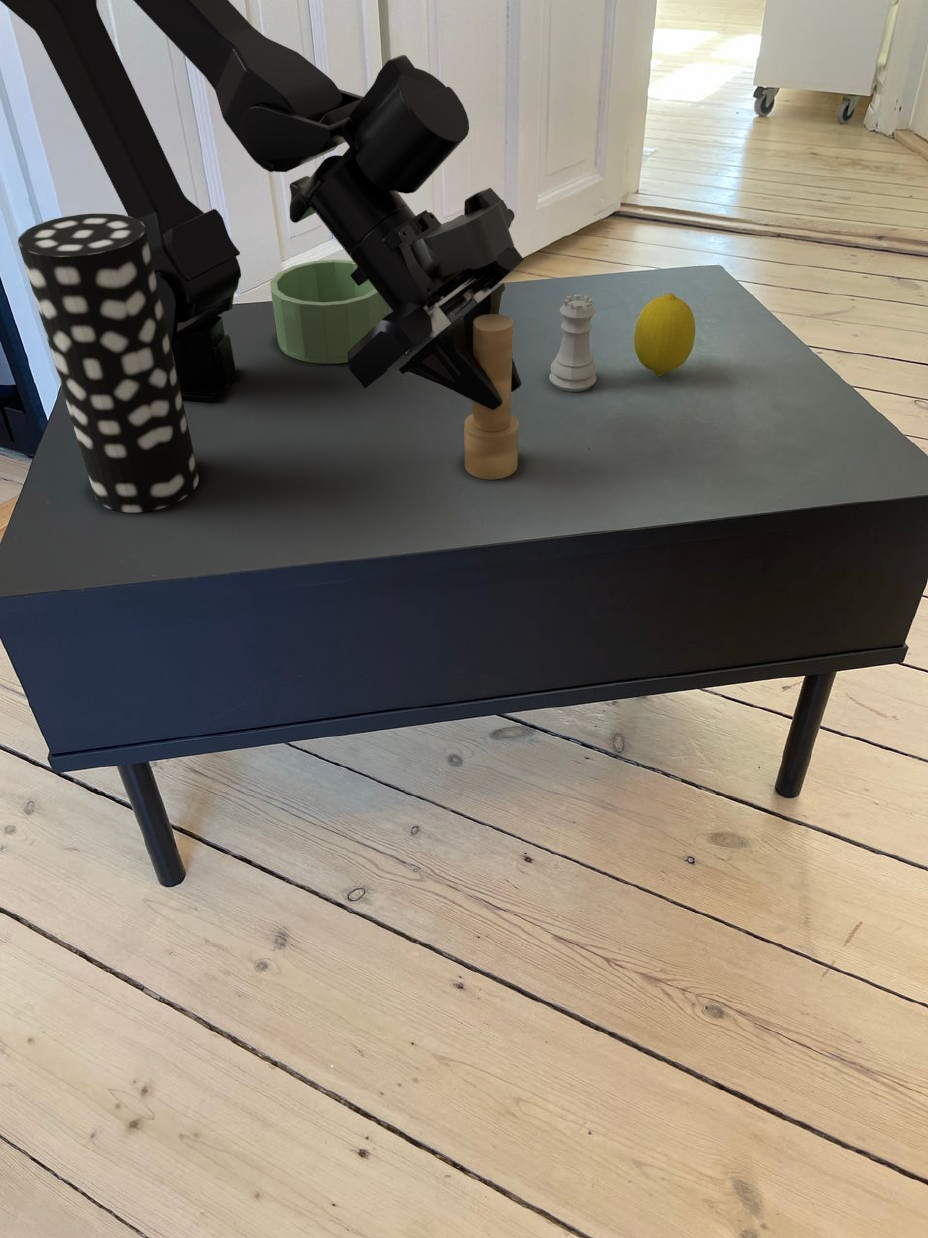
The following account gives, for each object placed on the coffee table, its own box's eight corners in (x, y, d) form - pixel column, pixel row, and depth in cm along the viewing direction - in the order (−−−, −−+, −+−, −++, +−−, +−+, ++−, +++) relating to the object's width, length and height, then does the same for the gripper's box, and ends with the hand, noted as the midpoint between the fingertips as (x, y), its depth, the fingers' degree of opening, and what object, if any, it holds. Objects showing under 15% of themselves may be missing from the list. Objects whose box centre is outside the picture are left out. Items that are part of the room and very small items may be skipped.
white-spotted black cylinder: (111, 456, 82) (44, 212, 69) (209, 457, 82) (159, 213, 69) (79, 512, 76) (-3, 256, 63) (184, 513, 76) (125, 256, 63)
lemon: (623, 382, 92) (632, 300, 87) (638, 358, 96) (647, 278, 90) (681, 393, 90) (694, 309, 85) (693, 367, 94) (706, 286, 89)
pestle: (459, 476, 80) (458, 331, 71) (470, 449, 83) (469, 307, 75) (512, 482, 79) (517, 336, 71) (521, 454, 82) (526, 311, 74)
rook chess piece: (593, 395, 90) (601, 312, 85) (545, 391, 91) (550, 308, 85) (598, 373, 93) (605, 292, 88) (552, 369, 94) (556, 288, 89)
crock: (262, 358, 96) (253, 299, 92) (299, 311, 105) (292, 256, 101) (373, 368, 94) (369, 308, 90) (401, 320, 103) (399, 263, 99)
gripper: (372, 199, 61) (525, 398, 64) (504, 128, 73) (626, 297, 76) (285, 298, 69) (425, 471, 72) (417, 219, 81) (531, 369, 84)
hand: (507, 397), depth 76 cm, fingers closed on pestle, 3 cm apart
